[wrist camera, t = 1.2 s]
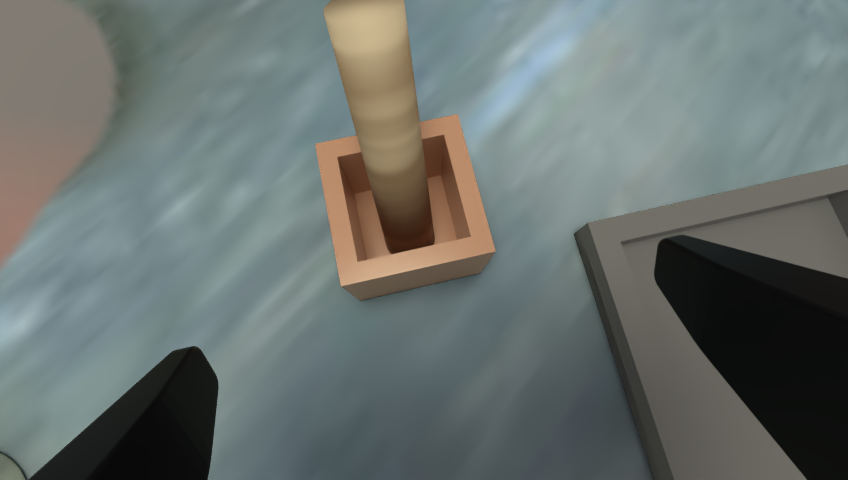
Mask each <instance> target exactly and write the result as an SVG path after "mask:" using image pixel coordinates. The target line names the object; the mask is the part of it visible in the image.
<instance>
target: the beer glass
mask: <svg viewBox="0 0 848 480" xmlns="http://www.w3.org/2000/svg"><path fill="white" fill-rule="evenodd" d="M0 480H26V479H25V477H24V475H23V473H22V471H21V470H20V468H19V467H18V466H17V465H16V464H15V463H14V462H13V461H12V460H11V459H10V458H9V457H7V456H6V455H4V454H2V453H0Z"/></svg>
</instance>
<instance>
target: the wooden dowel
mask: <svg viewBox="0 0 848 480" xmlns="http://www.w3.org/2000/svg"><path fill="white" fill-rule="evenodd" d="M324 16H325V20H326V23H327V27H328V31H329V34H330V38H331V42H332V46H333V49H334V53H335V57H336V60H337V64H338V68H339V71H340V75H341V79H342V83H343V86H344V90H345V94H346V97H347V101H348V105H349V109H350V112H351V116H352V120H353V123H354V127H355V131H356V135H357V138H358V142H359V146H360V149H361V153H362V157H363V160H364V164H365V168H366V172H367V175H368V179H369V183H370V186H371V190H372V194H373V198H374V201H375V205H376V209H377V212H378V216H379V220H380V224H381V227H382V231H383V235H384V238H385V242H386V246H387V249H388V251H389V252H390V253H391V254H396V253H400V252H405V251H409V250H414V249H418V248H422V247H427V246H431V245H434V242H435V236H434V228H433V220H432V213H431V205H430V197H429V189H428V182H427V174H426V166H425V159H424V151H423V143H422V136H421V128H420V120H419V112H418V105H417V97H416V89H415V82H414V74H413V66H412V58H411V51H410V43H409V35H408V28H407V20H406V12H405V4H404V0H332V1H330V2H329V3H328V4H327V5H326V6H325V8H324Z"/></svg>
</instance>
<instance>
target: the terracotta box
mask: <svg viewBox="0 0 848 480" xmlns="http://www.w3.org/2000/svg"><path fill="white" fill-rule="evenodd" d="M420 128H421V136H422V143H423V151H424V159H425V166H426V174H427V182H428V189H429V197H430V205H431V213H432V220H433V228H434V236H435V242H434V245H431V246H427V247H422V248H418V249H414V250H409V251H405V252H400V253H396V254H391V253H390V252H389V251H388V249H387V246H386V242H385V238H384V235H383V231H382V227H381V224H380V220H379V216H378V212H377V209H376V205H375V201H374V198H373V194H372V190H371V186H370V183H369V179H368V175H367V172H366V168H365V164H364V160H363V157H362V153H361V149H360V146H359V142H358V138H357V135H356V136H351V137H346V138H341V139H336V140H332V141H327V142H322V143H317V144H315V145H316V151H317V156H318V162H319V167H320V173H321V178H322V184H323V189H324V195H325V200H326V206H327V211H328V217H329V222H330V228H331V233H332V239H333V245H334V250H335V256H336V261H337V267H338V272H339V278H340V283H341V287H343V288H344V289H345V290H347V291H348V292H349V293H351V294H352V295H353V296H355V297H356V298H357V299H359V300H360V301H361V300H366V299H370V298H375V297H379V296H383V295H388V294H392V293H396V292H401V291H405V290H410V289H414V288H418V287H423V286H427V285H432V284H436V283H440V282H445V281H449V280H453V279H458V278H462V277H467V276H471V275H475V274H480V273H481V272H482V270H483V269H484V267H485V266H486V265H487V263H488V262H489V260H490V259H491V257H492V256H493V254H494V253H495V252H496V251H495V247H494V244H493V240H492V236H491V233H490V229H489V226H488V222H487V218H486V215H485V211H484V207H483V204H482V200H481V197H480V193H479V189H478V186H477V182H476V179H475V175H474V171H473V168H472V164H471V160H470V157H469V153H468V150H467V146H466V142H465V139H464V135H463V132H462V128H461V124H460V121H459V117H458V114H456V115H451V116H447V117H442V118H437V119H432V120H428V121H423V122H420Z"/></svg>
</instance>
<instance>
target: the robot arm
mask: <svg viewBox="0 0 848 480" xmlns="http://www.w3.org/2000/svg"><path fill="white" fill-rule="evenodd" d="M654 278H655V281H656V284H657V286H658V287H659V289H660V290H661V292H662V293H663V295H664V296H665V298H666V299H667V301H668V302H669V304H670V305H671V307H672V308H673V310H674V311H675V313H676V315H677V316H678V318H679V319H680V321H681V322H682V324H683V325H684V327H685V328H686V330H687V331H688V333H689V334H690V336H691V337H692V339H693V340H694V341H695V343H696V344H697V346H698V347H699V348H700V350H701V351H702V352H703V354H704V355H705V356H706V357H707V359H708V360H709V361H710V362H711V364H712V365H713V366H714V367H715V368H716V370H717V371H718V372H719V373H720V375H721V376H722V377H723V378H724V379H725V381H726V382H727V383H728V384H729V386H730V387H731V388H732V389H733V390H734V392H735V393H736V394H737V395H738V396H739V398H740V399H741V400H742V401H743V403H744V404H745V405H746V406H747V407H748V409H749V410H750V411H751V412H752V414H753V415H754V416H755V417H756V418H757V420H758V421H759V422H760V423H761V425H762V426H763V427H764V428H765V429H766V431H767V432H768V433H769V434H770V436H771V437H772V438H773V439H774V440H775V442H776V443H777V444H778V445H779V446H780V448H781V449H782V450H783V451H784V453H785V454H786V455H787V456H788V457H789V459H790V460H791V461H792V462H793V464H794V465H795V466H796V467H797V468H798V470H799V471H800V472H801V473H802V475H803V476H804V477H805V478H806V479H807V480H848V278H844V277H841V276H837V275H833V274H829V273H826V272H822V271H818V270H814V269H811V268H807V267H803V266H799V265H796V264H792V263H788V262H784V261H781V260H777V259H773V258H769V257H766V256H762V255H758V254H754V253H751V252H747V251H743V250H739V249H736V248H732V247H728V246H725V245H721V244H717V243H713V242H710V241H706V240H702V239H698V238H695V237H691V236H687V235H675V236H671V237H667V238H663V239H661V240H660V241H659V243H658V246H657V253H656V260H655V267H654ZM217 397H218V379H217V376H216V374H215V372H214V371H213V369H212V367H211V366H210V364H209V362H208V361H207V359H206V357H205V356H204V354H203V352H202V351H201V349H199V348H198V347H196V346H191V347H187V348H182V349H178V350H175V351H172V352H171V353H170V354H169V355H168V356H166V357H165V358H164V359H163V360H162V361H161V362H160V363H159V364H157V365H156V366H155V367H154V368H153V369H152V370H151V371H150V372H148V373H147V374H146V375H145V376H144V377H143V378H142V379H141V380H140V381H138V382H137V383H136V384H135V385H134V386H133V387H132V388H131V389H129V390H128V391H127V392H126V393H125V394H124V395H123V396H122V397H120V398H119V399H118V400H117V401H116V402H115V403H114V404H113V405H112V406H110V407H109V408H108V409H107V410H106V411H105V412H104V413H103V414H101V415H100V416H99V417H98V418H97V419H96V420H95V421H94V422H92V423H91V424H90V425H89V426H88V427H87V428H86V429H85V430H83V431H82V432H81V433H80V434H79V435H78V436H77V437H76V438H75V439H73V440H72V441H71V442H70V443H69V444H68V445H67V446H66V447H64V448H63V449H62V450H61V451H60V452H59V453H58V454H57V455H55V456H54V457H53V458H52V459H51V460H50V461H49V462H48V463H47V464H45V465H44V466H43V467H42V468H41V469H40V470H39V471H38V472H36V473H35V474H34V475H33V476H32V477H31V478H30V479H29V480H207V479H208V474H209V469H210V463H211V455H212V446H213V436H214V426H215V417H216V407H217Z"/></svg>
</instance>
